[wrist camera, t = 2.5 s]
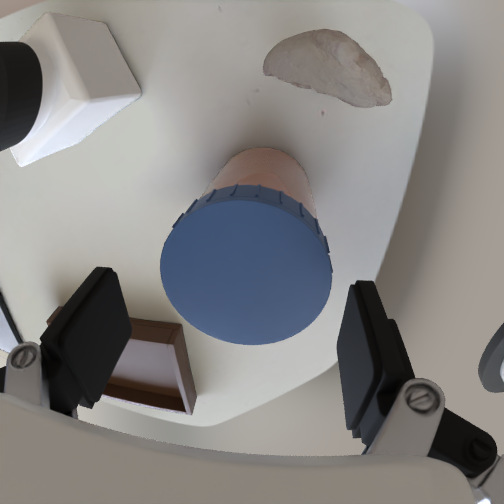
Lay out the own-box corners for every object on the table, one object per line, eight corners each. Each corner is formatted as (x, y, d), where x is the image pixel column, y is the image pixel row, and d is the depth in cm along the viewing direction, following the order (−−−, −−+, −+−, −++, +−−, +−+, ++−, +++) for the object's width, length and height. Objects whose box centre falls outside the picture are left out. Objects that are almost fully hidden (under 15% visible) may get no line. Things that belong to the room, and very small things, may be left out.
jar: (312, 149, 20) (337, 203, 11) (306, 237, 23) (317, 339, 14) (214, 146, 21) (156, 197, 11) (218, 233, 24) (177, 330, 15)
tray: (181, 324, 29) (173, 344, 26) (196, 397, 35) (192, 415, 32) (58, 306, 30) (45, 321, 28) (90, 375, 36) (82, 390, 34)
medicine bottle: (106, 21, 16) (-17, 3, 6) (145, 94, 19) (23, 116, 9) (44, 77, 18) (-73, 100, 8) (77, 144, 21) (-37, 200, 11)
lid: (336, 187, 12) (344, 203, 10) (318, 323, 15) (320, 349, 14) (164, 182, 12) (147, 197, 11) (182, 314, 16) (172, 338, 14)
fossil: (264, 84, 18) (246, 77, 10) (276, 36, 16) (268, -10, 8) (351, 107, 18) (405, 124, 10) (363, 60, 17) (426, 40, 8)
